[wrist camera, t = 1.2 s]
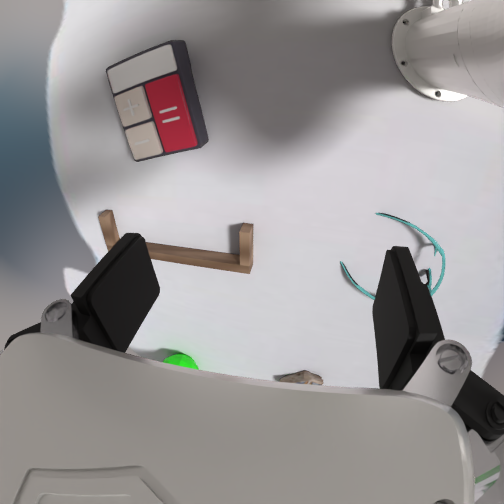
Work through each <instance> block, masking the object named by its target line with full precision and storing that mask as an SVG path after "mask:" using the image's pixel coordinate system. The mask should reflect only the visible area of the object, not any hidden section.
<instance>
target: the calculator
mask: <svg viewBox="0 0 504 504" xmlns="http://www.w3.org/2000/svg"><path fill="white" fill-rule="evenodd" d="M106 73H107V76H108V80H109V83H110V87H111V90H112V93H113V97H114V100H115V103H116V106H117V110H118V113H119V116H120V119H121V122H122V125H123V128H124V131H125V134H126V137H127V140H128V143H129V146H130V149H131V151H132V154H133V157H134V160H135V161H136V162H139V161H143V160H147V159H152V158H156V157H160V156H165V155H169V154H174V153H178V152H183V151H188V150H193V149H198V148H201V147H202V146H203V145H205V144H206V143H207V142H208V140H209V139H208V135H207V131H206V127H205V123H204V119H203V115H202V111H201V107H200V103H199V99H198V95H197V91H196V88H195V84H194V80H193V76H192V72H191V65H190V60H189V56H188V52H187V48H186V43H185V41H182V40H171V41H168V42H165V43H163V44H160V45H157V46H155V47H152V48H150V49H147V50H145V51H142V52H140V53H138V54H135V55H133V56H131V57H129V58H127V59H124V60H122V61H120V62H118V63H116V64H114V65H112V66H110V67H108V68H107V69H106Z"/></svg>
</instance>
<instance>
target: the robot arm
mask: <svg viewBox="0 0 504 504" xmlns="http://www.w3.org/2000/svg"><path fill="white" fill-rule="evenodd" d="M448 1H449V8H448V9H444V8H443V0H433V5H431V6H430V7H424V6H422V7H418V8H414V9H412V10H409V11H408V12H406V13H405V14H403V15H402V16H401V17H400V18H399V19H398V21H397V22H396V24H395V26H394V29H393V33H392V44H391V45H392V51H393V56H394V59H395V62H396V64H397V66H398V68H399V70H400V72H401V73H402V74H403V76H404V77H405V79H406V80H407V81H408V82H409V83H410V84H411V85H412V86H413V87H414V88H415V89H417V90H418V91H419V92H421V93H422V94H424V95H426V96H428V97H430V98H433V99H436V100H440V101H448V102H452V101H458V100H461V99H463V98H466V97H467V96H469V97H473V98H476V99H479V100H482V101H485V102H488V103H491V104H494V105H497V106H500V107H503V108H504V0H471V1H468V2H465V3H463V0H448ZM403 21H404V22H405V23H406V25H404V24H403ZM402 61H403V62H404V65H402V64H401V62H402ZM435 92H437V95H435ZM159 293H160V287H159V284H158V281H157V277H156V274H155V271H154V268H153V265H152V262H151V259H150V255H149V252H148V249H147V245H146V242H145V239H144V238H143V237H142V236H141V235H140V234H139V233H126V234H125V235H124V236H123V237H122V238H121V239H120V240H119V241H118V242H117V243H116V244H115V245H114V246H113V247H112V248H111V249H110V251H109V252H108V253H107V254H106V255H105V256H104V257H103V258H102V259H101V260H100V262H99V263H98V264H97V265H96V266H95V267H94V268H93V270H92V271H91V272H90V273H89V274H88V275H87V276H86V278H85V279H84V280H83V281H82V282H81V283H80V285H79V286H78V287H77V288H76V289H75V291H74V292H73V293H72V294H71V297H72V299H73V301H74V302H73V303H72V304H71V303H70V302H69V300H66V299H60V300H56V301H54V302H52V303H51V304H50V305H48V306H47V307H46V309H45V310H44V312H43V313H42V317H41V322H40V323H38V324H36V325H33V326H31V327H29V328H27V329H25V330H22V331H20V332H18V333H16V334H13V335H12V336H11V337H10V338H9V339H8V341H7V343H6V345H5V349H4V351H3V350H1V351H0V504H504V395H502V394H501V393H500V392H498V391H497V390H496V389H495V388H493V387H492V386H491V385H489V384H488V383H487V382H485V381H484V380H483V379H482V378H480V377H479V376H478V375H476V374H475V373H474V372H472V371H471V370H470V369H471V366H472V359H471V356H470V353H469V352H468V350H467V349H466V348H465V347H464V346H463V345H462V344H461V343H459V342H456V341H454V340H445V338H444V335H443V331H442V328H441V325H440V321H439V318H438V315H437V312H436V309H435V306H434V303H433V300H432V297H431V294H430V291H429V288H428V286H427V285H426V284H422V283H421V280H420V277H419V274H418V271H417V269H416V266H415V263H414V261H413V258H412V256H411V253H410V251H409V248H408V247H399V246H393V247H392V249H391V250H387V251H386V255H385V260H384V264H383V268H382V273H381V277H380V281H379V285H378V289H377V292H376V296H375V300H374V304H373V321H374V330H375V339H376V349H377V360H378V373H379V387H380V389H376V388H358V387H337V386H323V385H310V384H297V383H287V382H277V381H268V380H260V379H253V378H246V377H239V376H232V375H226V374H220V373H214V372H208V371H203V370H197V369H192V368H187V367H182V366H177V365H173V364H168V363H164V362H159V361H155V360H151V359H147V358H142V357H138V356H134V355H131V354H127V353H125V352H126V350H127V348H128V347H129V345H130V343H131V341H132V340H133V338H134V336H135V334H136V333H137V331H138V329H139V327H140V326H141V324H142V322H143V321H144V319H145V317H146V316H147V314H148V312H149V311H150V309H151V307H152V306H153V304H154V302H155V301H156V299H157V297H158V296H159ZM474 476H475V485H474Z"/></svg>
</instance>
